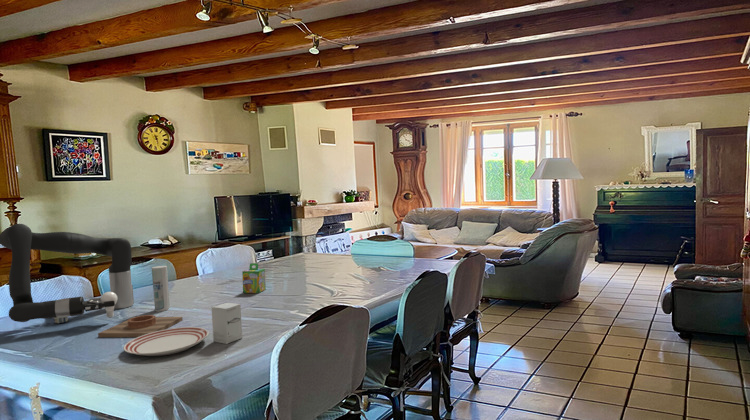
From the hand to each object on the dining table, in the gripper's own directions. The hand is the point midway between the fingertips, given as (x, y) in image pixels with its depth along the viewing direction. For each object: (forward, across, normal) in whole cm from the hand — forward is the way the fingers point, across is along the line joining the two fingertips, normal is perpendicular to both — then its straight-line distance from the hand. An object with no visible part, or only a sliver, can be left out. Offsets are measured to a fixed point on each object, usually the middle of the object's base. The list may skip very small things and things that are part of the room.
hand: (115, 301), depth 205 cm
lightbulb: (-2, 0, +7) cm, 7 cm away
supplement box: (+40, -52, +9) cm, 66 cm away
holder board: (+11, -17, +9) cm, 22 cm away
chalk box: (+62, +27, +9) cm, 68 cm away
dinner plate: (+21, -48, +9) cm, 53 cm away
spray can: (+17, +12, +9) cm, 23 cm away
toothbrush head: (-26, +23, +10) cm, 36 cm away
